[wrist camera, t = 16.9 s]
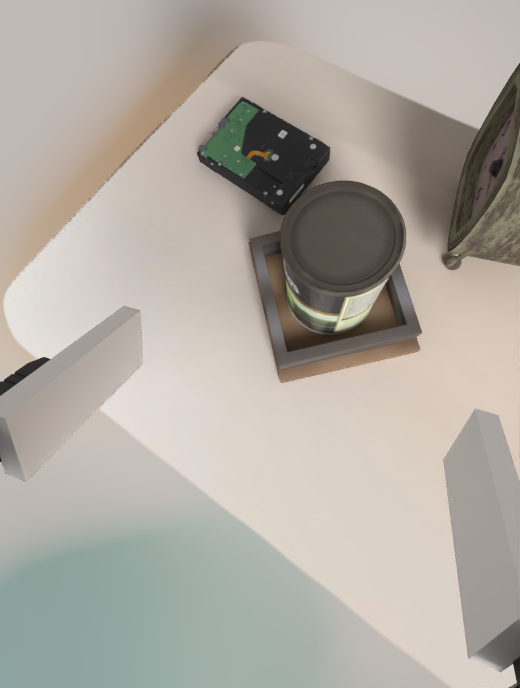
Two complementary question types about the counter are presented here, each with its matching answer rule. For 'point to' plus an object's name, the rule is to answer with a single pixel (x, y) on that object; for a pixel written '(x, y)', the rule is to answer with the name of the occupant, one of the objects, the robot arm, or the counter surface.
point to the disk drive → (263, 155)
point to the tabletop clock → (491, 187)
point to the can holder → (331, 350)
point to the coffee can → (339, 254)
